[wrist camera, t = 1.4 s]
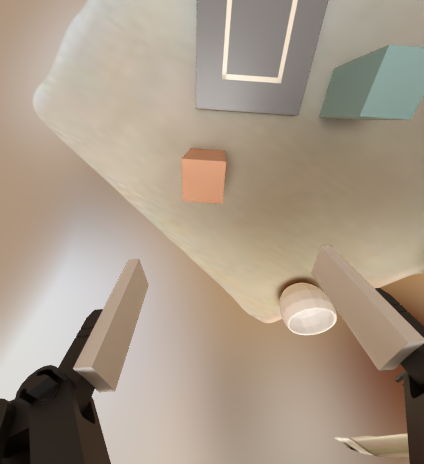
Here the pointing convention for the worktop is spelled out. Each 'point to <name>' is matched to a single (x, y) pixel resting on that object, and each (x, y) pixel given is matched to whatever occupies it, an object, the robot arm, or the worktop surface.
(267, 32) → the base plate
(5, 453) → the robot arm
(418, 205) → the worktop surface
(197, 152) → the terracotta block
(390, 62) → the teal block
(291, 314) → the cup
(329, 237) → the worktop surface
